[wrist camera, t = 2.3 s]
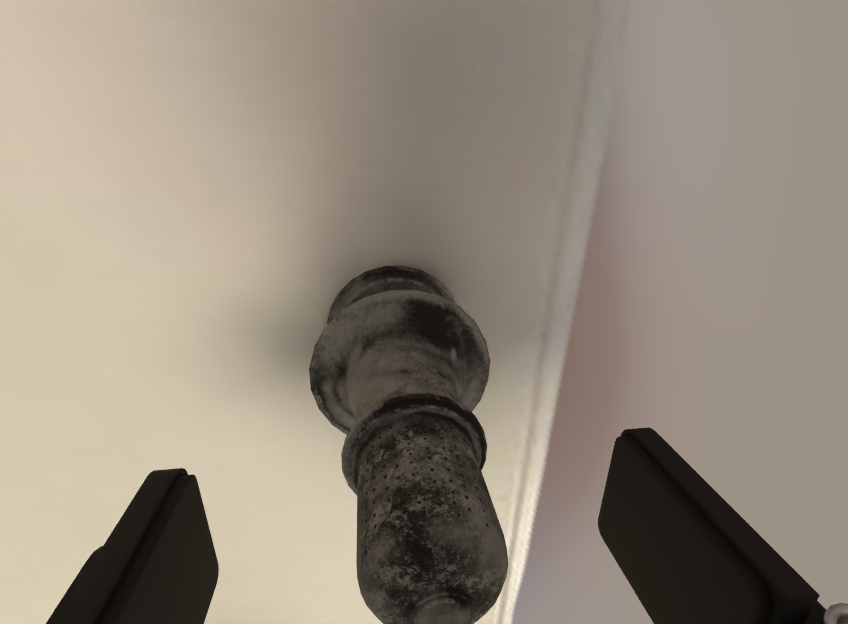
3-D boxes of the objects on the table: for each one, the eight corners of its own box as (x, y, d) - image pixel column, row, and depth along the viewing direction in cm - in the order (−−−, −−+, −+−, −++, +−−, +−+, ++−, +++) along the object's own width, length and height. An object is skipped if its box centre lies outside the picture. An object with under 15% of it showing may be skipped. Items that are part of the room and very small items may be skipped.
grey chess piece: (334, 401, 18) (292, 821, 7) (305, 269, 16) (171, 593, 5) (470, 379, 18) (628, 740, 8) (461, 247, 16) (672, 496, 5)
